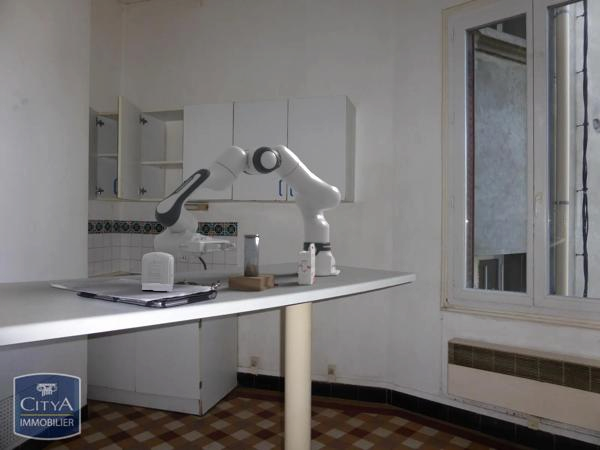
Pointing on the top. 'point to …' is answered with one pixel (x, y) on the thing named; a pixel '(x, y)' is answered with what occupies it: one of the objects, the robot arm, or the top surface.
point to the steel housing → (251, 255)
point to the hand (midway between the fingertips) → (227, 246)
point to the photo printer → (157, 268)
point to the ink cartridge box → (307, 266)
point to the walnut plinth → (251, 282)
